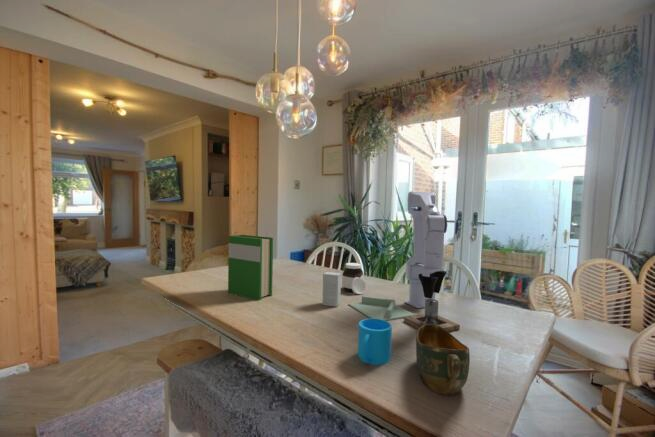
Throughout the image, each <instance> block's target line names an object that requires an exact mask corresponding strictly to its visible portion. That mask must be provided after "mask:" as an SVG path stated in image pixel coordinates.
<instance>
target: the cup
mask: <svg viewBox="0 0 655 437" xmlns="http://www.w3.org/2000/svg"><path fill="white" fill-rule="evenodd" d="M438 325H439V324H438ZM438 325H435V324H424V325H422V326H421V327H420V328H419V329H417V331H416V334H415V335H416V337H415V339H416V340H415V342H416V343H415V344H416V345H415V356H416V363H417V368H418V372H419V377H420V378H421V379H420V380H421V381H422V383H423V384H424V385H425V386H426V387H427V388H428V389H430V390H431V391H434V392H435V393H438V394H439V395H442V396H443V395H444V396H455V395H458V394H460V392H461V389H462V388H463V387H464V386H465V384H466V382H467V380H468V377H469V372H470V361H471V356H470V348H469V347H468V346H467V345H465V344H464V343H462V342H461V341H460V340H458V339H457V338H456V337H455V336H454V335H453V334H452V333H451V332H448V331H447V330H445V329H444V328H442V327H440V326H438Z"/></svg>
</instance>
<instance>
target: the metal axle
mask: <svg viewBox="0 0 655 437" xmlns="http://www.w3.org/2000/svg"><path fill="white" fill-rule="evenodd" d="M424 313H425V321H423V323H425V324H435V325H439V323H438V315H439V300H438V299H436V298H435V299H426V300H425V307H424Z"/></svg>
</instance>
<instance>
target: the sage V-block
mask: <svg viewBox="0 0 655 437" xmlns="http://www.w3.org/2000/svg"><path fill="white" fill-rule="evenodd" d="M348 306H349V307H352V308H353V309H354V310H356V311H358V312H360V313H361V314H363V315H364V316H366V317H367V318H368V319H370V318H373V319H381V320H385V321H387V322H389V321H393V320H394V321H395V320H399V319H404V317H406V316H412V315H416V314H415V313H413V312H411V311H409V310H407V309H405V308H403V307H401V306H398V305H397V304H396V300H395V299H393V298H385V297H378V296H368V295H367V296H366V295H362V296H361V301H355V302H348Z"/></svg>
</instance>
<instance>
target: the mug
mask: <svg viewBox="0 0 655 437" xmlns="http://www.w3.org/2000/svg"><path fill="white" fill-rule="evenodd" d="M392 328H393V326H392V324H391V323H390V322H389V321H385V320H381V319H373V318H365V319H360V320H359V322H358V340H357V341H358V346H357V356H358V358H359V360H360V361H362V362H363V363H366V364H370V365H378V366H379V365H385V364H388V363H389V362H390V361H391V360H392V359H391V358H392V333H393V332H392V331H393V329H392Z"/></svg>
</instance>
